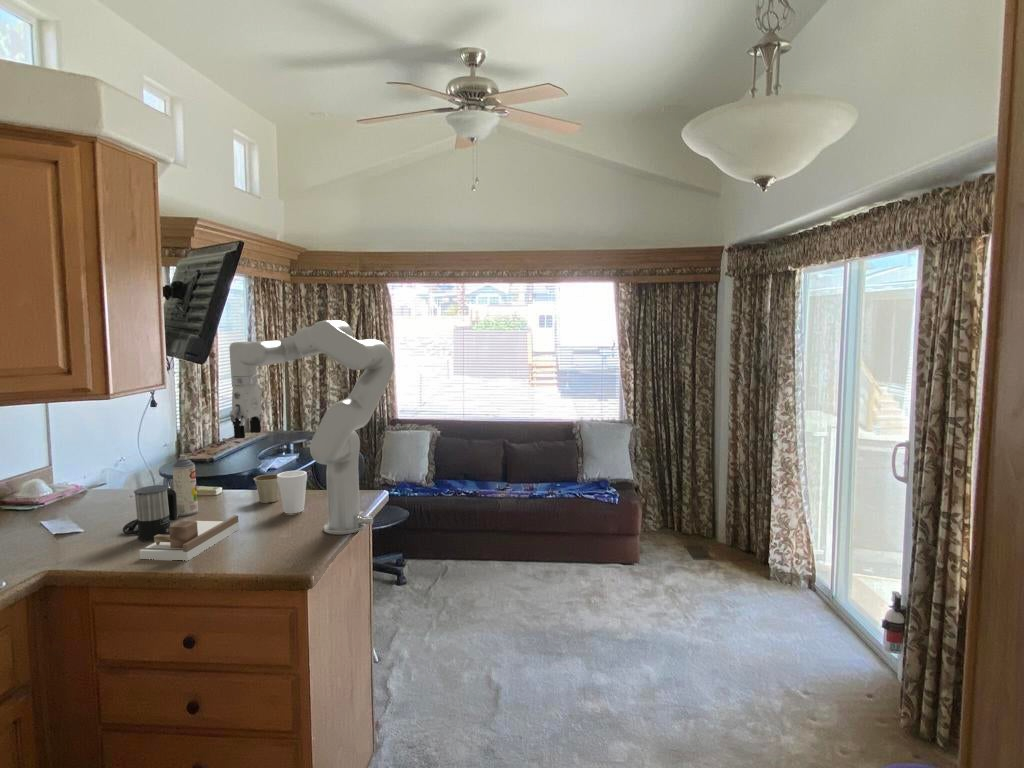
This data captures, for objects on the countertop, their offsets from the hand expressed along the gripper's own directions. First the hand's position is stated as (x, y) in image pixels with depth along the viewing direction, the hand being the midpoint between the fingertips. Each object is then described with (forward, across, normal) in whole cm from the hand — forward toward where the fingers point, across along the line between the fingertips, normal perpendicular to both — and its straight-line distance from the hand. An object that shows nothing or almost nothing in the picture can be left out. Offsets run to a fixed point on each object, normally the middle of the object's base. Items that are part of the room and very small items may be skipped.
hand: (248, 435), depth 206 cm
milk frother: (+29, -13, +27) cm, 42 cm away
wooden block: (+26, -28, +8) cm, 39 cm away
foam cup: (+28, +12, -8) cm, 32 cm away
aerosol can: (+28, +8, +28) cm, 41 cm away
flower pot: (+28, +24, +7) cm, 38 cm away
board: (+28, -20, +8) cm, 36 cm away
